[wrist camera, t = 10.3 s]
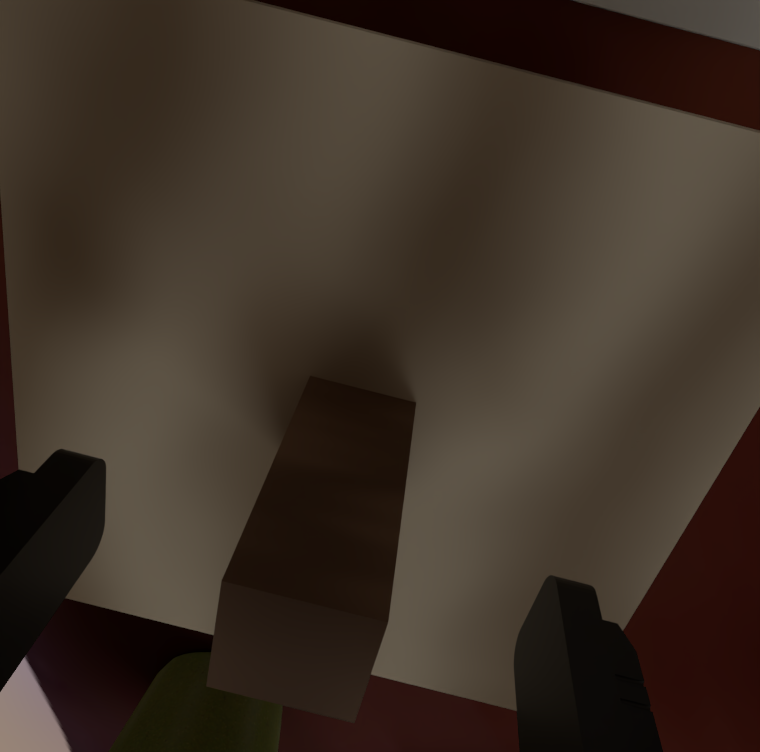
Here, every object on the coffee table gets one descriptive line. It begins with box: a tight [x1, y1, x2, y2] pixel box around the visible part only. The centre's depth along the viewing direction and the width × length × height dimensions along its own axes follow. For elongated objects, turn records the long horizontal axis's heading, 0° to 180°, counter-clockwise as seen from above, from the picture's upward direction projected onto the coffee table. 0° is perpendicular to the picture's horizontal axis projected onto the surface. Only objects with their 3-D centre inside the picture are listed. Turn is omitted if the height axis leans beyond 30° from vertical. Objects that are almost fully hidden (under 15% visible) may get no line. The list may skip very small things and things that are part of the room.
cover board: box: [0, 0, 760, 723], centre depth 13 cm, size 16×16×7 cm
